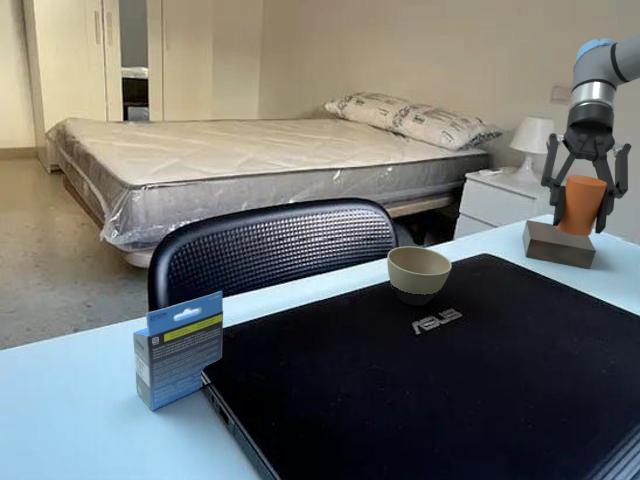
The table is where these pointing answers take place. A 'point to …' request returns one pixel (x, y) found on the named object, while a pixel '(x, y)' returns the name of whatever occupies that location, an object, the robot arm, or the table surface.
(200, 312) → the label tape box
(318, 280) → the table surface
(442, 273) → the beige bowl
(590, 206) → the orange drum
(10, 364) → the table surface
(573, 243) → the grey shallow square box
